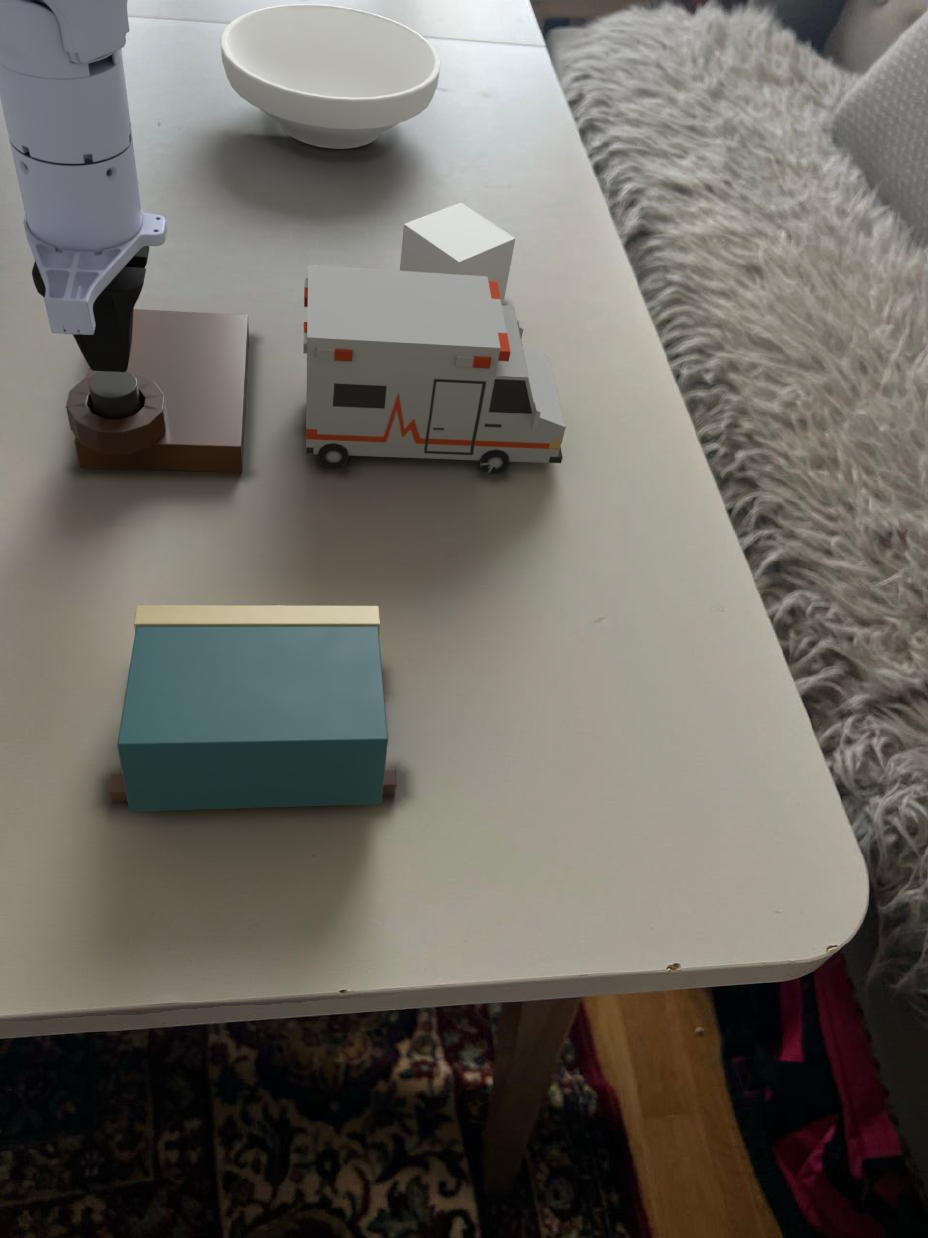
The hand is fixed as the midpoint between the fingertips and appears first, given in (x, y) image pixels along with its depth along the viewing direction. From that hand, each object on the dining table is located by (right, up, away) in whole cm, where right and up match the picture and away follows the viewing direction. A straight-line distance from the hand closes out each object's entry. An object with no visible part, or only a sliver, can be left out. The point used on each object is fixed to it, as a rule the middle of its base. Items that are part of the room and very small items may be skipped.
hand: (110, 364), depth 60 cm
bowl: (+8, +31, +36) cm, 48 cm away
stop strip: (+11, -24, -9) cm, 27 cm away
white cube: (+20, +10, +21) cm, 30 cm away
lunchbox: (+11, -22, -13) cm, 28 cm away
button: (0, -2, +2) cm, 3 cm away
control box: (+1, 0, +9) cm, 9 cm away
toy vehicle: (+19, -2, +10) cm, 21 cm away
